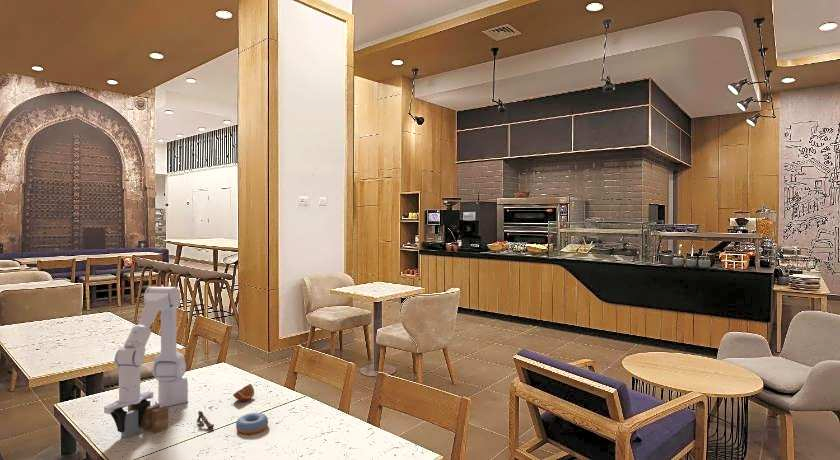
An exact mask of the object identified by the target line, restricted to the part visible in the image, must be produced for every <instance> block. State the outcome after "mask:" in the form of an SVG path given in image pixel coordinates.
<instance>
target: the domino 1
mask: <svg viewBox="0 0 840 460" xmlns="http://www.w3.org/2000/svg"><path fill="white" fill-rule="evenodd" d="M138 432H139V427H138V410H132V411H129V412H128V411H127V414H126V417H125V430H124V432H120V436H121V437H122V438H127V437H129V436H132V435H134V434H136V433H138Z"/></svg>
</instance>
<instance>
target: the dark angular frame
mask: <svg viewBox="0 0 840 460" xmlns="http://www.w3.org/2000/svg"><path fill="white" fill-rule="evenodd" d="M197 414H198V417H197V420H196V423H197V424H198V425H200V426H201V427H204V426H206V427H207V431H209V430H212V429H214V427H215V424H212V423H211V422H210V421H208V418H207V417H206V416H205V415H204V412H203V411H202V410H198V412H197Z"/></svg>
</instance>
